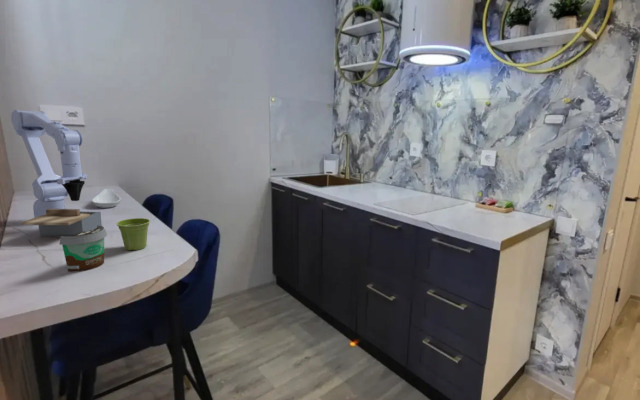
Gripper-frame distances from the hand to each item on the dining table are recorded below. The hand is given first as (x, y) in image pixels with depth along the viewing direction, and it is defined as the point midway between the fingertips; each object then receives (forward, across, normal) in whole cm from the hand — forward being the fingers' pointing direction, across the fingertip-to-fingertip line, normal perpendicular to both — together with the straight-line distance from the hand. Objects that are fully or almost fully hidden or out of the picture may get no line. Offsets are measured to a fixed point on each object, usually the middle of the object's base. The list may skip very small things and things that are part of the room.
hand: (75, 200), depth 125 cm
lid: (+4, -12, -1) cm, 13 cm away
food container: (+11, -37, -25) cm, 46 cm away
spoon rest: (+11, +41, +10) cm, 43 cm away
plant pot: (+11, -22, -30) cm, 39 cm away
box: (+10, -5, -1) cm, 12 cm away
